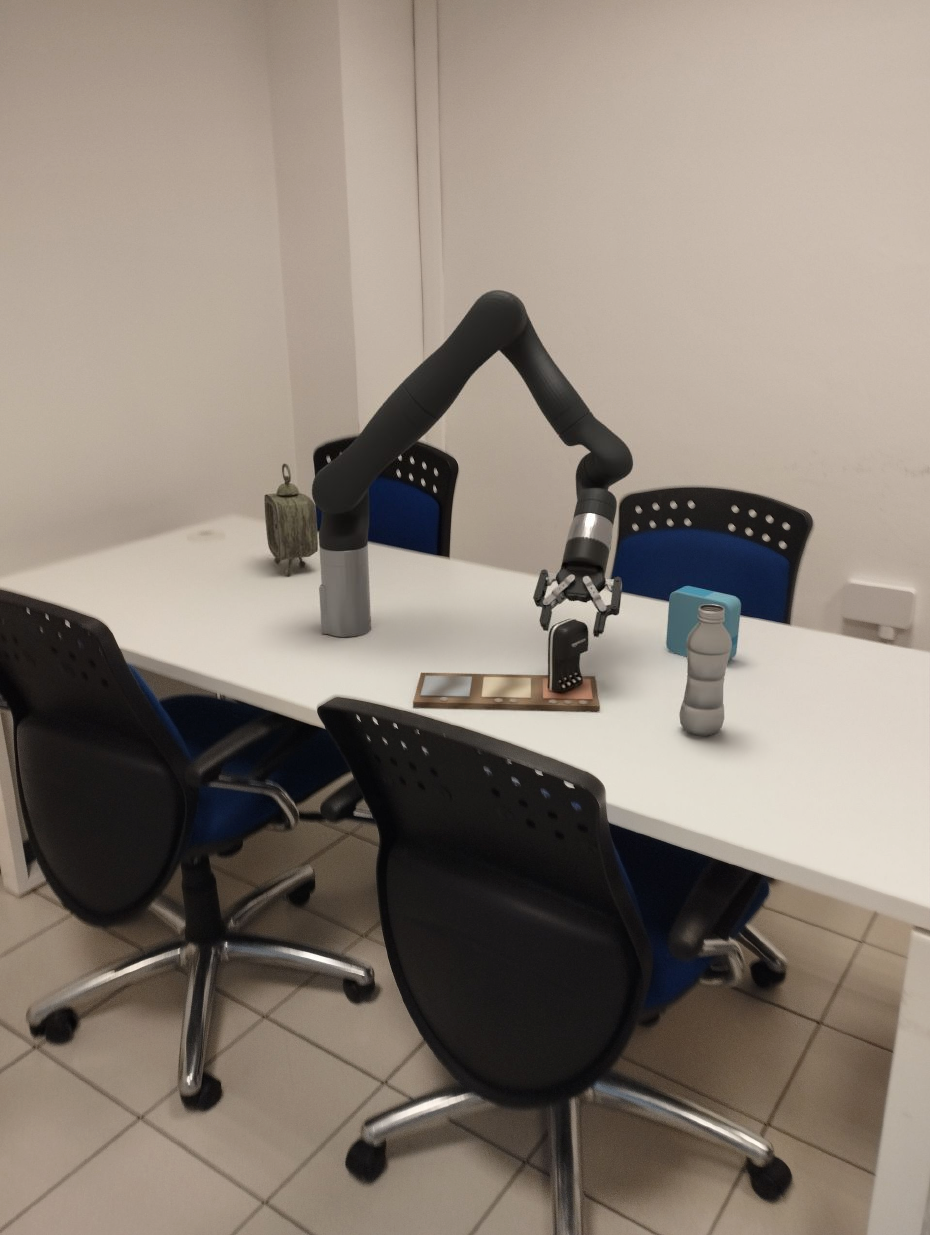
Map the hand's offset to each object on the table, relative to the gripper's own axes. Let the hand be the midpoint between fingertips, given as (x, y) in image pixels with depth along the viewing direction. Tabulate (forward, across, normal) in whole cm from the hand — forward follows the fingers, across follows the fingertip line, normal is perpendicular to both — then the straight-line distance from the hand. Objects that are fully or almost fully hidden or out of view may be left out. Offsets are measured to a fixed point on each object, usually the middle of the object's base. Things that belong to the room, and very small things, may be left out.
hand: (570, 632), depth 158 cm
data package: (-9, +19, +24) cm, 32 cm away
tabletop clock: (-26, -78, +42) cm, 92 cm away
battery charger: (+8, 0, +6) cm, 10 cm away
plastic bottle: (+13, +23, +2) cm, 26 cm away
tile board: (+11, -9, +5) cm, 15 cm away
